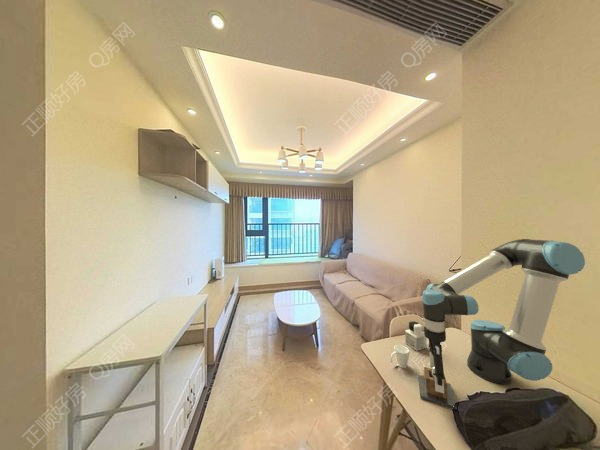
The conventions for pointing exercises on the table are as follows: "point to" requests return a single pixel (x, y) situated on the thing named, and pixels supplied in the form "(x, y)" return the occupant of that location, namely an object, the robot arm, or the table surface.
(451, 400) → the post stand
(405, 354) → the cup
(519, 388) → the table surface
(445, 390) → the collar
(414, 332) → the container
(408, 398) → the table surface
